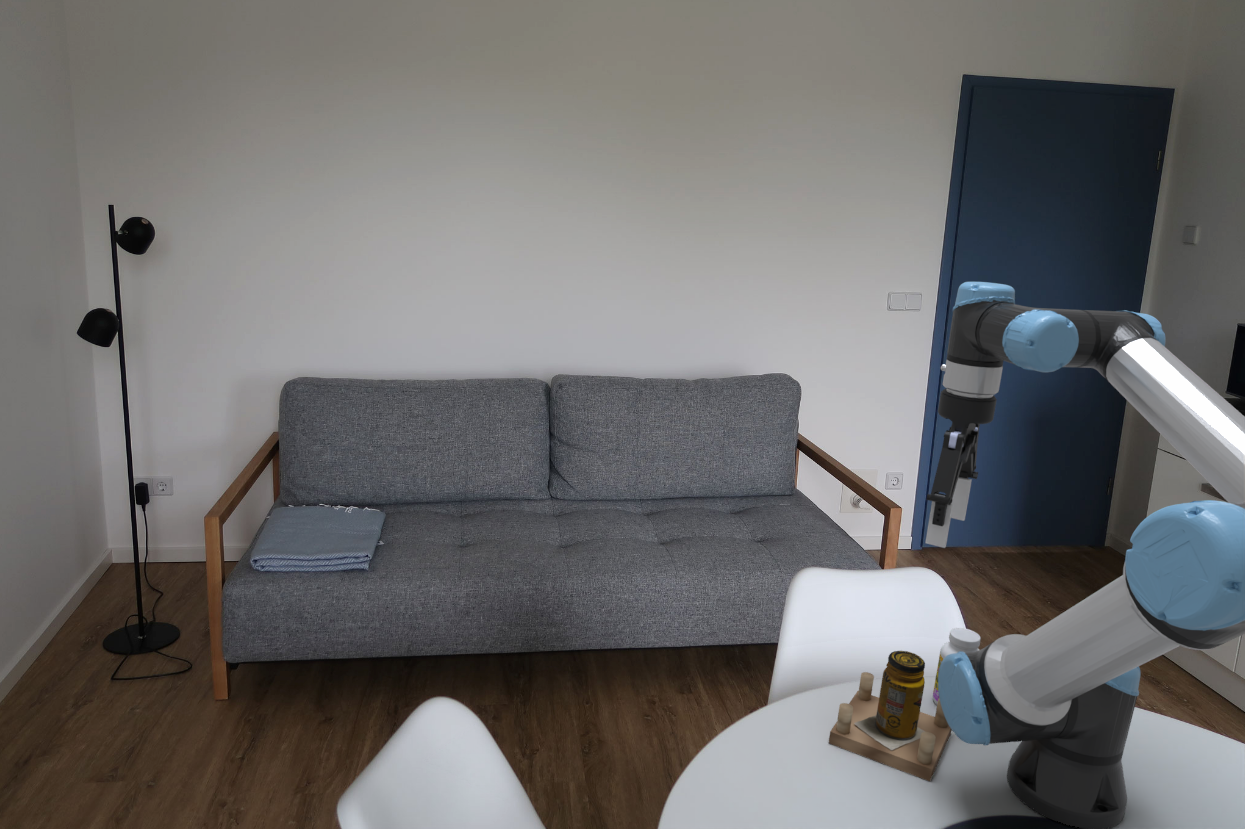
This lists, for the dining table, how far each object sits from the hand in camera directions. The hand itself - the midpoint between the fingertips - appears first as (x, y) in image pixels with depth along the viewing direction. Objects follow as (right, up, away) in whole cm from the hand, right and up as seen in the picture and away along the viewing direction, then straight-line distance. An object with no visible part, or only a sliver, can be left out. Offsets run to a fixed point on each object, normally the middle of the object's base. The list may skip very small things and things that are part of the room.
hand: (945, 531), depth 132 cm
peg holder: (-7, -32, +4) cm, 33 cm away
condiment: (-7, -31, +3) cm, 32 cm away
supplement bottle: (+7, -31, +15) cm, 35 cm away
